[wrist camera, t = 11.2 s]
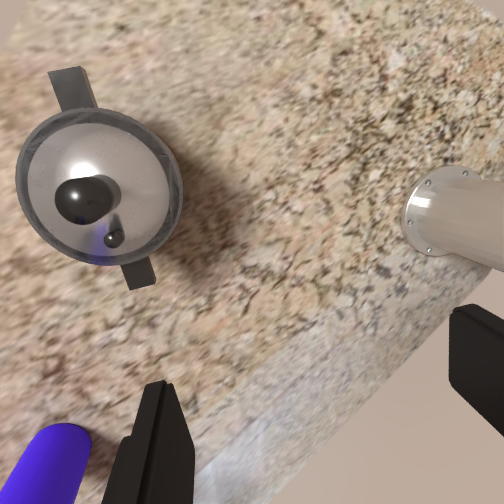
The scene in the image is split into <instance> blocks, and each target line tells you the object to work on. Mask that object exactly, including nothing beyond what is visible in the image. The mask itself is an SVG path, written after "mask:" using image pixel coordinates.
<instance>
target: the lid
mask: <svg viewBox="0 0 504 504" xmlns="http://www.w3.org/2000/svg"><path fill="white" fill-rule="evenodd" d="M28 192H29V197H30V201H31V203H32V206H33V209H34V211H35V213H36V215H37V217H38V218H39V220H40V221H41V223H42V224H43V225H44V226H45V228H46V229H47V230H48V231H49V232H50V233H51V234H52V235H53V236H54V237H56V238H57V239H58V240H60V241H61V242H62V243H64V244H66V245H67V246H69V247H71V248H73V249H75V250H78V251H80V252H84V253H87V254H91V255H97V256H116V255H122V254H126V253H129V252H132V251H134V250H136V249H138V248H140V247H142V246H143V245H145V244H146V243H147V242H148V241H150V240H151V239H152V238H153V237H154V236H155V235H156V233H157V232H158V231H159V229H160V228H161V226H162V224H163V222H164V220H165V218H166V215H167V212H168V208H169V203H170V189H169V183H168V179H167V176H166V173H165V170H164V168H163V166H162V164H161V162H160V161H159V159H158V158H157V156H156V155H155V154H154V153H153V152H152V150H151V149H150V148H149V147H148V146H147V145H146V144H145V143H143V142H142V141H141V140H139V139H138V138H137V137H135V136H133V135H132V134H130V133H128V132H126V131H123V130H121V129H118V128H115V127H112V126H108V125H104V124H97V123H84V124H76V125H72V126H68V127H66V128H63V129H61V130H59V131H57V132H55V133H54V134H52V135H51V136H49V137H48V138H47V139H46V140H45V141H44V142H43V143H42V144H41V145H40V147H39V148H38V149H37V151H36V153H35V154H34V156H33V158H32V161H31V163H30V167H29V172H28Z"/></svg>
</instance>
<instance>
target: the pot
mask: <svg viewBox="0 0 504 504" xmlns="http://www.w3.org/2000/svg"><path fill="white" fill-rule="evenodd" d="M47 73H48V75H49V78H50V80H51V83H52V86H53V88H54V91H55V94H56V96H57V99H58V102H59V104H60V107H61V110H62V112H61V113H58V114H56V115H54V116H52V117H50V118H48V119H47V120H45V121H44V122H42V123H41V124H40V125H39V126H38V127H37V128H35V129H34V130H33V132H32V133H31V134H30V135H29V137H28V138H27V139H26V141H25V143H24V145H23V146H22V148H21V151H20V154H19V156H18V160H17V165H16V175H15V181H16V190H17V195H18V199H19V202H20V205H21V207H22V210H23V212H24V214H25V216H26V217H27V219H28V221H29V222H30V224H31V225H32V227H33V228H34V229H35V231H36V232H37V233H38V234H39V235H40V236H41V237H42V238H43V239H44V240H45V241H46V242H47V243H49V244H50V245H51V246H52V247H54V248H55V249H57V250H58V251H60V252H61V253H63V254H65V255H67V256H69V257H71V258H74V259H76V260H79V261H82V262H86V263H89V264H95V265H105V266H114V265H120V266H121V269H122V271H123V274H124V277H125V279H126V282H127V285H128V287H129V290H134V289H138V288H142V287H145V286H149V285H153V284H155V283H156V277H155V274H154V271H153V268H152V265H151V262H150V259H149V255H150V254H152V253H153V252H155V251H156V250H157V249H159V248H160V247H161V246H162V245H163V244H164V243H165V242H166V241H167V240H168V238H169V237H170V236H171V234H172V233H173V231H174V229H175V227H176V225H177V223H178V220H179V217H180V215H181V210H182V205H183V177H182V172H181V169H180V166H179V163H178V161H177V159H176V157H175V156H174V154H173V152H172V151H171V150H170V148H169V147H168V146H167V145H166V144H165V143H164V142H163V141H162V140H161V139H160V138H159V137H158V136H157V135H156V134H154V133H153V132H152V131H151V130H150V129H149V128H147V127H146V126H144V125H143V124H142V123H140V122H138V121H136V120H135V119H133V118H131V117H129V116H126V115H124V114H122V113H119V112H115V111H112V110H108V109H102V108H98V106H97V103H96V100H95V97H94V95H93V92H92V89H91V86H90V83H89V80H88V77H87V74H86V71H85V69H83V68H82V67H81V66H78V67H72V68H67V69H62V70H56V71H51V72H47ZM84 123H97V124H104V125H108V126H112V127H115V128H118V129H121V130H123V131H126V132H128V133H130V134H132V135H133V136H135V137H137V138H138V139H139V140H141V141H142V142H143V143H145V144H146V145H147V146H148V147H149V148H150V149H151V150H152V152H153V153H154V154H155V155H156V156H157V158H158V159H159V161H160V162H161V164H162V166H163V168H164V170H165V173H166V176H167V179H168V183H169V189H170V203H169V208H168V212H167V215H166V218H165V220H164V222H163V224H162V226H161V228H160V229H159V231H158V232H157V233H156V235H155V236H154V237H153V238H152V239H151V240H150V241H148V242H147V243H146V244H145V245H143V246H142V247H140V248H138V249H136V250H134V251H132V252H129V253H126V254H122V255H116V256H97V255H91V254H87V253H84V252H80V251H78V250H75V249H73V248H71V247H69V246H67V245H66V244H64V243H62V242H61V241H60V240H58V239H57V238H56V237H54V236H53V235H52V234H51V233H50V232H49V231H48V230H47V229H46V228H45V226H44V225H43V224H42V223H41V221H40V220H39V218H38V217H37V215H36V213H35V211H34V209H33V206H32V203H31V201H30V197H29V192H28V172H29V167H30V163H31V161H32V158H33V156H34V154H35V153H36V151H37V149H38V148H39V147H40V145H41V144H42V143H43V142H44V141H45V140H46V139H47V138H48V137H49V136H51V135H52V134H54V133H55V132H57V131H59V130H61V129H63V128H66V127H68V126H72V125H76V124H84Z"/></svg>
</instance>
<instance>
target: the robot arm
mask: <svg viewBox="0 0 504 504" xmlns="http://www.w3.org/2000/svg"><path fill="white" fill-rule="evenodd" d="M401 226H402V231H403V234H404V237H405V239H406V240H407V242H408V243H409V245H410V246H412V247H413V248H414V249H415V250H417V251H419V252H421V253H423V254H426V255H430V256H443V255H447V254H450V253H455V254H457V255H460V256H462V257H465V258H468V259H470V260H473V261H476V262H478V263H481V264H483V265H486V266H489V267H491V268H494V269H496V270H499V271H502V272H504V182H500V181H489V180H482V179H481V178H480V177H479V176H478V174H477V173H476V172H474V171H473V170H471V169H470V168H467V167H464V166H456V165H448V166H442V167H438V168H436V169H434V170H432V171H430V172H428V173H427V174H425V175H424V176H422V177H421V178H420V179H419V180H418V181H417V182H416V183H415V185H414V186H413V187H412V189H411V190H410V192H409V194H408V195H407V197H406V199H405V202H404V205H403V209H402V214H401ZM449 381H450V383H451V385H452V387H453V388H454V389H455V390H456V391H457V392H458V393H459V394H460V395H461V396H462V397H463V398H464V399H465V400H466V401H467V402H468V403H469V404H470V405H471V406H472V407H473V408H474V409H475V410H476V411H478V413H479V414H480V415H482V416H483V417H484V418H485V419H486V420H487V421H488V422H489V423H490V424H491V425H492V426H493V427H494V428H495V429H496V430H497V431H498V432H499V433H500V434H501V435H502V436H503V437H504V320H503V319H501V318H499V317H498V316H496V315H494V314H492V313H491V312H489V311H487V310H485V309H483V308H482V307H480V306H478V305H475V304H468V305H464V306H460V307H456V308H454V310H453V313H452V314H450V317H449ZM194 472H195V449H194V444H193V441H192V438H191V435H190V433H189V430H188V427H187V424H186V421H185V418H184V415H183V412H182V409H181V406H180V403H179V400H178V398H177V395H176V392H175V389H174V386H173V384H172V383H170V384H167V382H166V381H165V380H162V381H158V382H154V383H150V384H147V385H146V386H145V388H144V392H143V395H142V399H141V402H140V406H139V409H138V413H137V416H136V420H135V423H134V427H133V430H132V434H131V436H127V437H124V438H123V439H122V441H121V443H120V446H119V449H118V452H117V455H116V458H115V462H114V465H113V468H112V471H111V474H110V477H109V481H108V484H107V487H106V490H105V493H104V496H103V500H102V503H101V504H193V492H194Z"/></svg>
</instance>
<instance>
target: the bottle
mask: <svg viewBox="0 0 504 504" xmlns="http://www.w3.org/2000/svg"><path fill="white" fill-rule="evenodd" d="M90 451H91V440H90V437H89V435H88V434H87V432H86V431H85V430H83V429H82V428H80V427H79V426H76V425H73V424H67V423H60V424H54V425H50V426H48V427H46V428H44V429H43V430H41V431H40V432H38V433H37V434H36V436H35V437H34V438H33V440H32V441H31V442H30V444H29V445H28V447H27V448H26V450H25V451H24V453H23V455H22V456H21V458H20V460H19V461H18V463H17V465H16V466H15V468H14V470H13V471H12V473H11V475H10V476H9V478H8V480H7V481H6V483H5V485H4V486H3V488H2V490H1V491H0V504H74V502H75V499H76V496H77V493H78V490H79V487H80V484H81V481H82V478H83V475H84V472H85V469H86V466H87V462H88V459H89V456H90Z"/></svg>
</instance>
